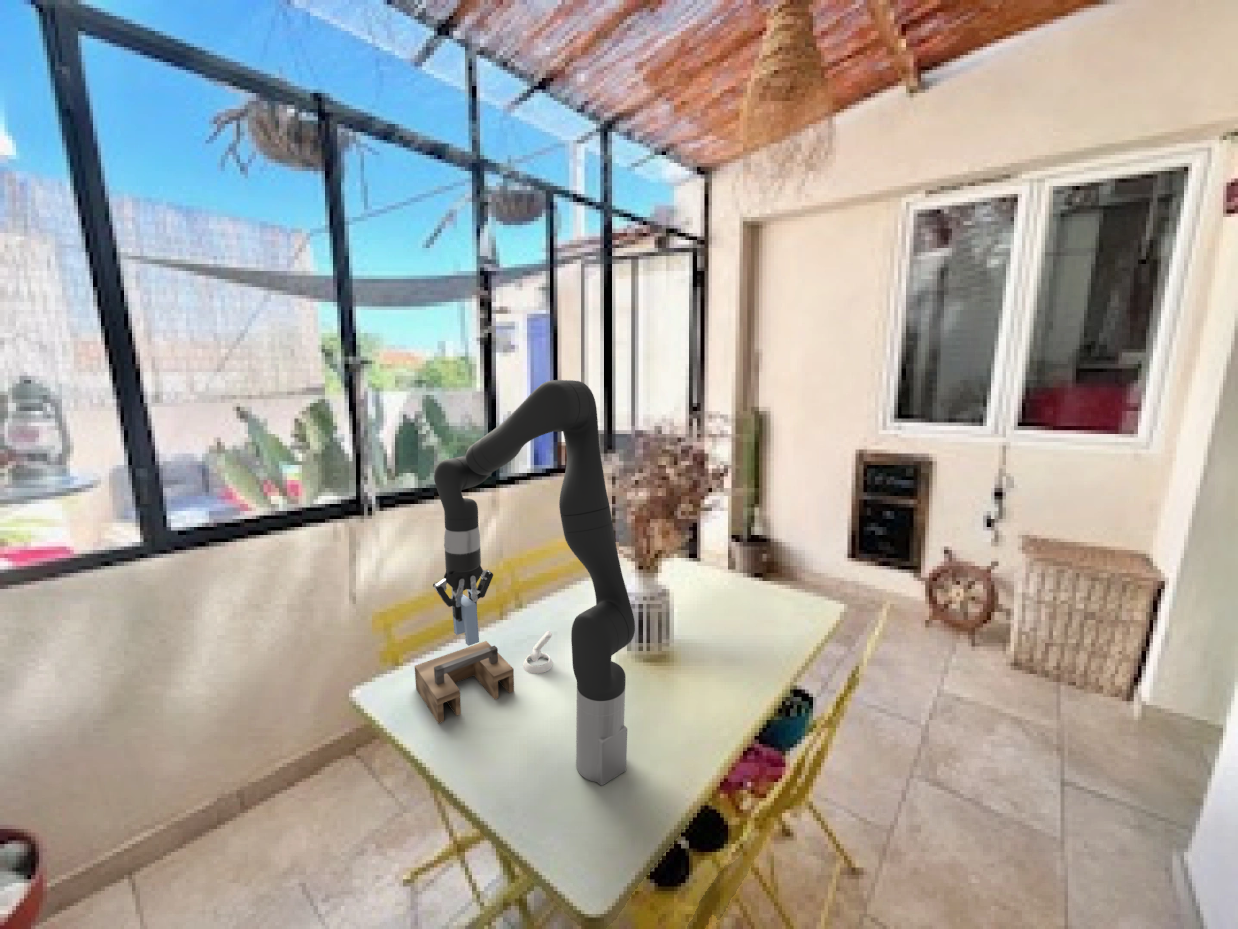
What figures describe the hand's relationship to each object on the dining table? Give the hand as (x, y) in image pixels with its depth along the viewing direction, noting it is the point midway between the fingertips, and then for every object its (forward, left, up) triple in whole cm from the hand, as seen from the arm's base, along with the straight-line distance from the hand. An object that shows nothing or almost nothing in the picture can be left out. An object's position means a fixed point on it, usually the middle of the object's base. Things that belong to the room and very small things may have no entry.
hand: (465, 617), depth 114 cm
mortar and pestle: (+1, -19, -20) cm, 28 cm away
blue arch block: (0, 0, -5) cm, 5 cm away
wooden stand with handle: (+2, 0, -20) cm, 20 cm away
